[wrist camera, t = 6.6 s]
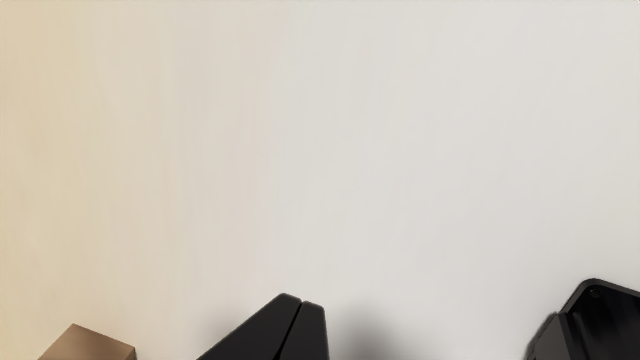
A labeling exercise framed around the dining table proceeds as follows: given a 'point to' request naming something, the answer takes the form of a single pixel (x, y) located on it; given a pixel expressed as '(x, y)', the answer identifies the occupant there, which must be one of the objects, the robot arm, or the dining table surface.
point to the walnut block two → (87, 347)
